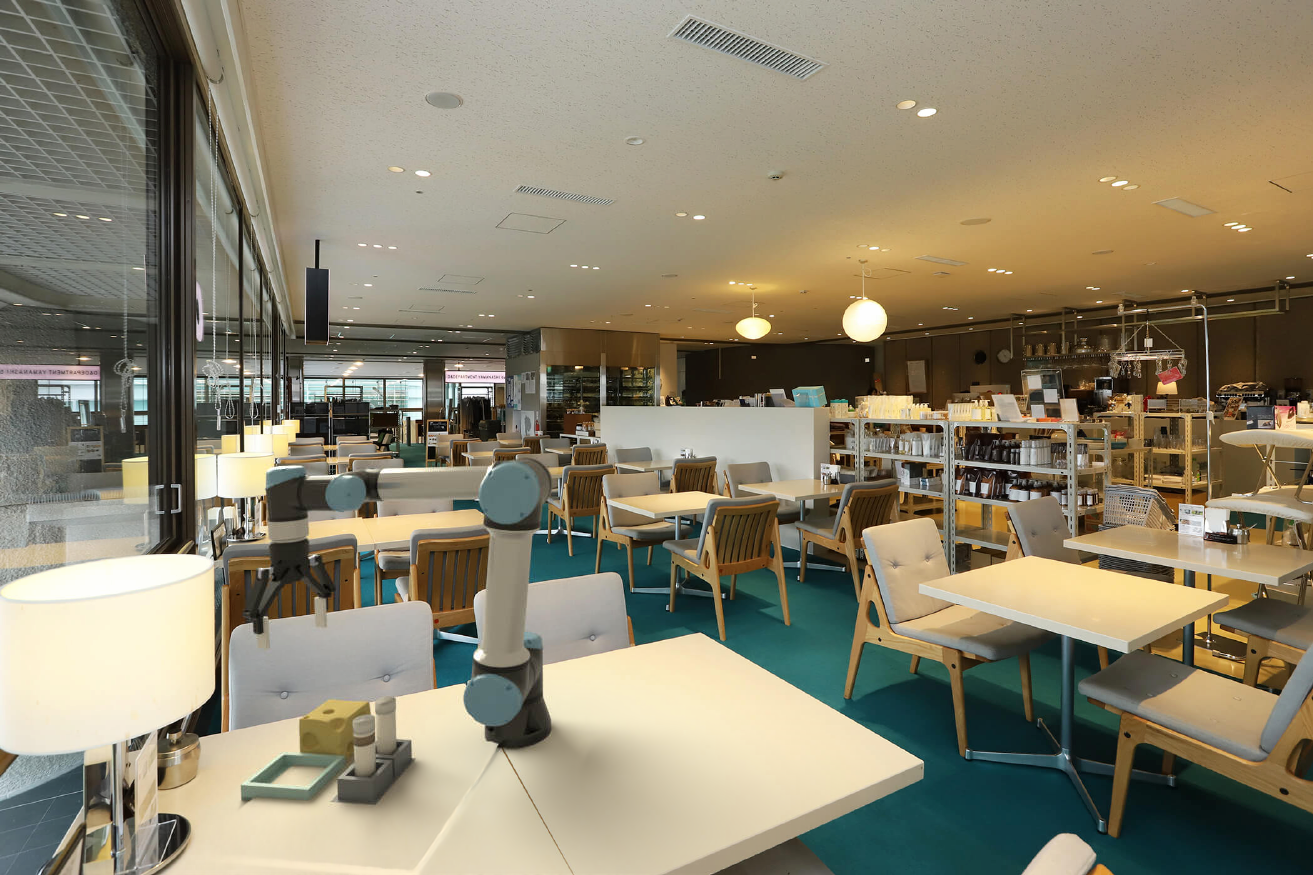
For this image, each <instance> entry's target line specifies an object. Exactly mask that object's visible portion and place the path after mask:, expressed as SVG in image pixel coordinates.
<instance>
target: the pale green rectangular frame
mask: <svg viewBox="0 0 1313 875" xmlns="http://www.w3.org/2000/svg"><path fill="white" fill-rule="evenodd" d="M294 765H295V766H306V767H307V766H311V767H325V769H324V770H322V772H320V773H319V774H318V775H317V776H316V777H315V778H314V779H313V780H311V781H310V782H309V783H308V784H307V785H306V786H305V785H295V784H279V783H273V782H274V781H276V780H277V779H278V778H279V777H280V776H282V775H283V774H284V773H285V772H286V771H288V770H289V769H290V768H291V767H292V766H294ZM345 766H346V761H345V756H342V755H327V754H311V753H300V752H293V751H281V752H280V753H279V754H278V755H277V756H275V757H274V758H273V759H272V760H270V761H269V762H268V763H267V764H265V765H264V766H262V767H261V768H260V769H259V770H258V771H256V772H255V773H254V774H253V775H251V776H250V777H249V778H248V779H247V780H245V781H244V782H242V783H241V784H240V798H241V801H252V800H253V799H254V798H255V797H260V798H263V797H264V798H275V799H291V800H301V801H302V800H303V801H304V800H305V801H310V800H311V798H313V796H315V795H316V794H317V793H318V792H319V791H320V790H321V789H322V788H323V787H324V786H325V785H326V784H327V783H328V782H329V781H330V780H331V779H333V777H335V775H336V774H338V773H339V772H340V771H341V770H342V769H343V768H344V767H345Z"/></svg>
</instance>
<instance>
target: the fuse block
mask: <svg viewBox="0 0 1313 875" xmlns="http://www.w3.org/2000/svg"><path fill="white" fill-rule="evenodd" d="M396 710H397V699H396V697H395V696H383V697H380V698H377V699H376V700H375V701H374V713H375V739H376V740H375V752H376V773H375V774H374V775H373V776H372V777H371V778H368V777H355V764H354V762H353V763H351V765H350V766H348V768H346V770H344V772H342V773H341V774H340V775H339V776H338V777H337V778H336V781H337V783H336V784H337V787H336V788H337V794H336V795H335V796H334V797H333V799H331V800H330V802H331V803H343V804H345V803H346V804H357V805H358V804H359V805H373V806H376V805H377V803H378V802H379V801H380V800H381V799H382V798H383V796H385V794H386V793H388V791H389V790H390V789H391V788H392V786H393V785H394V784H395V783H396V782H397V780H398V779H399V778H400V777H402V775H403V774H404V773H405V772H406V771H407V769H409V767H410V766H411V765H412V763H413V762H414V761H415V760H416V758H415V757H413V753H412V752H413V751H412V739H402V738H401V739H399V738H397V715H396V713H397V711H396ZM398 781H399V780H398Z"/></svg>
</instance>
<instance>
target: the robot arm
mask: <svg viewBox="0 0 1313 875" xmlns="http://www.w3.org/2000/svg"><path fill="white" fill-rule="evenodd" d="M306 469H307V468H306V467H305V466H302V465H281V466H273V467H270V468H269V469H267V471H266V472H265V488H264V490H265V498H266V510H267V532H268V535H267V536H268V540H270V541H269V543H268V556H269V560H270V562H271V563H270V567H265V568H264V567H263V568H262V567H258V568H256V569H255V576H254V577H255V578H254V579H255V580H254V582H253V585H252V588H251V589H250V592H249V595H248V598H247V599H246V603H245V605H244V609H243V610H242V612H241V616H242V617H243V618H248V619H252V632H253V635H256V644H257V649H260V650H261V649H262V650H265V651H266V650H270V649H271V647H270V646H271V644H270V641H271V640H270V625H269V624H270V623H269V617H268V616H266V614H267V613H268V611H269V609H270V608H271V606H272V604H273V603H274V601H275V599H276V597H277V596H278V595H279V592H280V591H281V590H282V589H283V588H284V587H285V586H286V585H290V584H292V583H294V582H300V581H302V582H303V583H304V584H305V585H307V587H308V588H309V589H310V590H311V591H313V592H314V594H316V595H317V596H316V597H314V598H313V599H314V600H313V602H314V621H315V622H314V623H315V627H317V628H327V627H328V618H327V611H328V610H329V609H330V608H329V598H331V597H332V596H333V593H334V592H336V590H337V587H336V585H335V584H334V582H333V579H332V577H331V576H330V574H329V572H328V570H327V569H326V567H325V565H324V562H323V557H322V555H321V554H314V553H313V554H312V553H310V552H311V551H310V539H309V538H308V536H309V535H310V529H309V528H310V527H309V512H338V513H344V512H352V511H357V510H360V508H361V507H362V505H364V503H368V502H369V503H370V502H373V503H375V502H377V503H378V502H390V501H391V502H393V501H394V502H395V501H396V502H398V501H399V502H402V501H406V502H407V501H451V500H452V501H455V500H456V501H457V500H459V501H461V500H462V501H463V500H464V501H465V500H467V501H468V500H478V502H479V506H480V507H481V508H480V509H481V510H482V511H483V522H482V523H483V524H482V526H483V527H484V528H485V529H486V531H487V532H488V533H489V542H488V543H489V545H488V555H487V556H488V559H487V568H486V569H487V572H486V573H487V574H486V584H485V596H484V597H485V598H484V607H483V609H484V610H483V622H482V623H483V624H482V635H481V636H482V637H481V644H480V646H479V647H477V649H476V650H475V651H473V657H472V658H473V659H472V668H471V670H472V671H471V679H470V680H469V681H468V682H467V684H466V686H465V689H464V692H463V698H462V699H463V705H464V708H465V710H466V712H467V714H468V715H469V716H471V718H473V720H474V721H475V722H477V723H479V724H481V725H484V739H485V740H486V742H491V743H495V744H497V748H500V749H501V748H502V749H521V748H526V747H530V746H534V745H536V744H539V743H540V742H542V741H544V740H545V739H546V738H547V737H548V736H549V735H550V733H551V731H552V718H551V715H550V712H549V709H548V706H547V703H546V701H545V698H544V652H543V651H544V646H543V639H542V636H541V635H539V634H538V633H536V632H532V631H525V630H526V620H527V619H526V618H527V605H528V595H529V583H530V582H529V580H530V570H531V559H532V558H531V556H532V544H533V536H534V534H536V533H537V532H538V531H539V530H540V529H541V524H542V514H543V512H542V511H543V505H544V504H545V503H546V502H547V501H548V499H549V498H550V496H551V494H552V492H553V484H554V483H553V477H552V473H551V472H550V470H549V468H548V467H547V466H546V465H545V464H544V463H543V462H542V461H540V460H538V459H535V458H533V457H520V458H517V459H511V460H495V461H494V462H493V463H492V464H491V465H473V466H472V465H471V466H470V465H468V466H467V465H465V466H435V467H433V466H432V467H431V466H430V467H402V468H401V467H395V468H394V467H393V468H389V467H387V468H379V467H371V466H369V467H362V468H360V469H356V470H353V471H347V472H342V473H337V474H332V475H330V474H329V475H308V473H307V470H306ZM309 566H311V569H312V571H313V573H314V574H315V576H316V578H317V579H316V578H315V577H314V576H313V574H312V573H311V572H310V570H308V569H309Z"/></svg>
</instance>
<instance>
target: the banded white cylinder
mask: <svg viewBox="0 0 1313 875" xmlns="http://www.w3.org/2000/svg"><path fill="white" fill-rule="evenodd" d="M353 733H354V734H353V741H354V753H353V755H354V758H353V760H354V762H353V763H354V764H355V777H368V778H371V777H372V776H373V775H374V774H375V773H376V752H375V742H376V715H373V714H371V715H362V716H359V717H357V718H355V719H354V720H353Z"/></svg>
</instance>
